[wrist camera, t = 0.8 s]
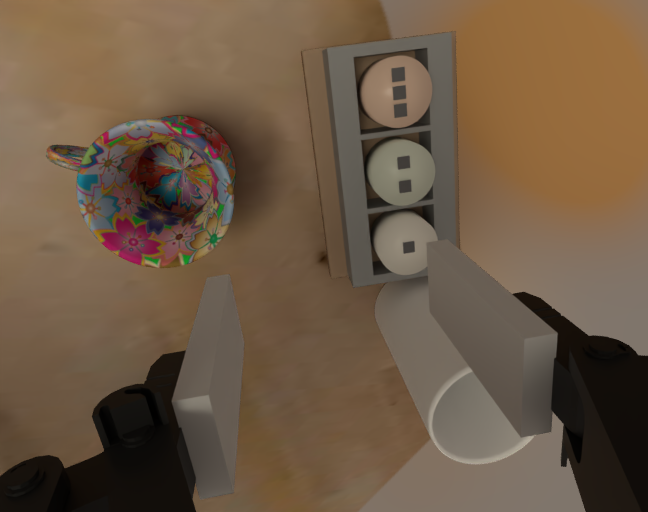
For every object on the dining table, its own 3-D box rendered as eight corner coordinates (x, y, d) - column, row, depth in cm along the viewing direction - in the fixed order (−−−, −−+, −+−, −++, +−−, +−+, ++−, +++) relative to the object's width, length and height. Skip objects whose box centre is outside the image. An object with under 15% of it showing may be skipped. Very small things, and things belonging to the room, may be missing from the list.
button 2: (366, 200, 39) (375, 210, 36) (361, 141, 37) (370, 146, 34) (423, 191, 39) (437, 201, 36) (420, 132, 37) (434, 137, 34)
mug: (255, 134, 38) (253, 152, 28) (222, 236, 41) (209, 285, 31) (103, 77, 36) (42, 76, 26) (78, 191, 38) (14, 229, 28)
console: (329, 273, 43) (336, 292, 39) (301, 51, 37) (305, 47, 33) (454, 253, 44) (473, 270, 40) (449, 32, 37) (471, 26, 33)
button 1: (372, 264, 41) (381, 280, 38) (367, 211, 39) (376, 223, 36) (426, 256, 41) (439, 270, 38) (423, 203, 39) (437, 213, 36)
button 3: (360, 128, 37) (369, 132, 33) (354, 62, 35) (362, 60, 32) (419, 119, 37) (434, 123, 34) (416, 54, 35) (431, 51, 32)
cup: (357, 320, 45) (403, 436, 31) (408, 252, 44) (483, 340, 29) (422, 356, 48) (494, 481, 33) (473, 293, 46) (573, 394, 31)
